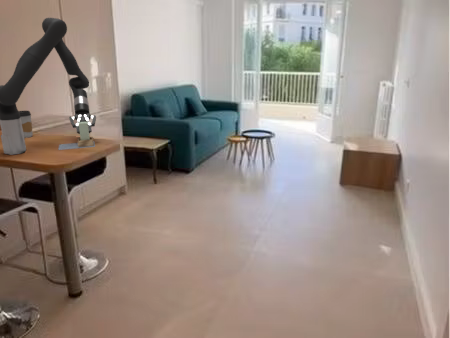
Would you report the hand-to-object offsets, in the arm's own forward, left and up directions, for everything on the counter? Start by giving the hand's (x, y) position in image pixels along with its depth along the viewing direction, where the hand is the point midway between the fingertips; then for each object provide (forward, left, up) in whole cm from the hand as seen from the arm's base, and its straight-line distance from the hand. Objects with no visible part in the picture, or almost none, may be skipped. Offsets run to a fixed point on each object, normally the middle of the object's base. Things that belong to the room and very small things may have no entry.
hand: (84, 132), depth 195 cm
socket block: (+1, +1, -7) cm, 7 cm away
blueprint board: (-2, +4, -8) cm, 9 cm away
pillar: (+1, +2, -4) cm, 4 cm away
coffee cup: (0, +51, -8) cm, 52 cm away
